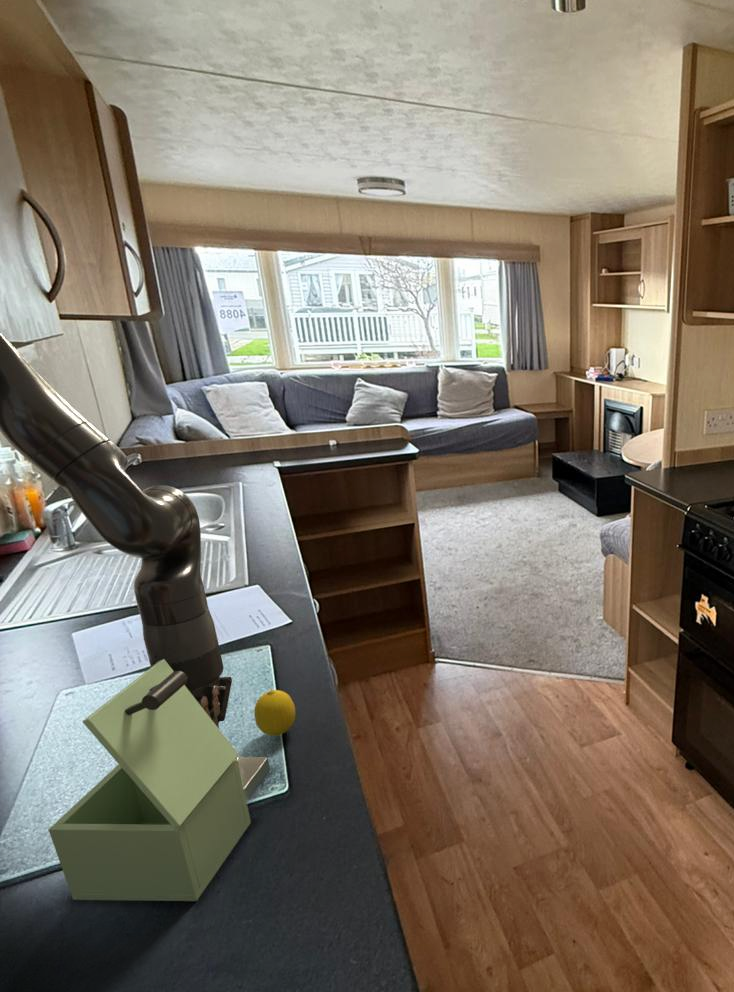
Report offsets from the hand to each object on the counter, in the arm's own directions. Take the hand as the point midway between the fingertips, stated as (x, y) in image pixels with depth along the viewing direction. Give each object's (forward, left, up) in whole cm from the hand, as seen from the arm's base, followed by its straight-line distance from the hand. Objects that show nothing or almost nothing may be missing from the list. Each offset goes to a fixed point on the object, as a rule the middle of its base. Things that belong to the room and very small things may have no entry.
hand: (210, 759), depth 87 cm
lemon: (+3, +12, -5) cm, 13 cm away
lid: (+4, -12, +12) cm, 17 cm away
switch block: (0, 0, -5) cm, 5 cm away
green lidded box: (+1, -12, -5) cm, 13 cm away
